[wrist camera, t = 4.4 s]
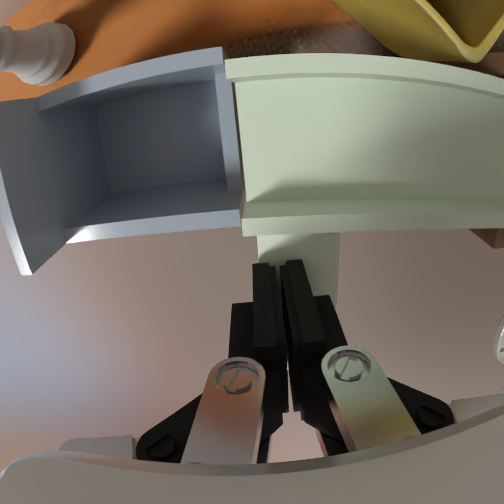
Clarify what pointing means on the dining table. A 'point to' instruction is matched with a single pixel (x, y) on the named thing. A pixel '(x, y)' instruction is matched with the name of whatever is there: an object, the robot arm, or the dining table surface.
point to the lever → (363, 152)
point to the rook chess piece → (37, 52)
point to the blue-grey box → (122, 156)
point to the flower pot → (431, 26)
